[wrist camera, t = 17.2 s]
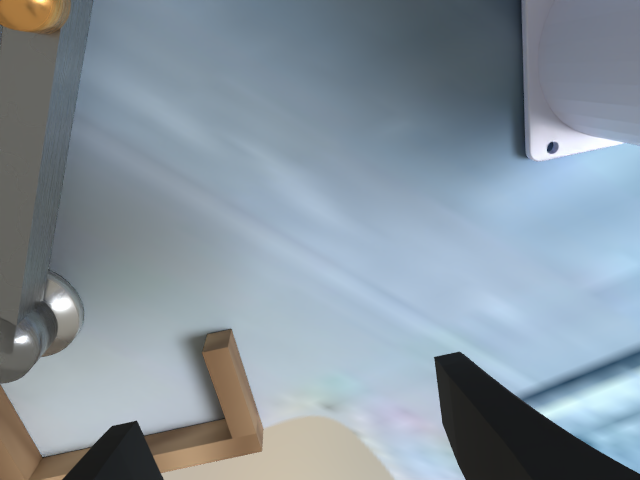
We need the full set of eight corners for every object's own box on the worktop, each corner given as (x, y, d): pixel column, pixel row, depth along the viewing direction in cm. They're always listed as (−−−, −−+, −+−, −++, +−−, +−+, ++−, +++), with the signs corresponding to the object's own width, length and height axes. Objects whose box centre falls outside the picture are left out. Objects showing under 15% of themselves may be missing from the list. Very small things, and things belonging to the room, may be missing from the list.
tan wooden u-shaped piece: (231, 329, 21) (227, 347, 20) (263, 428, 24) (262, 451, 22) (-27, 384, 21) (-49, 406, 20) (30, 479, 24) (14, 504, 22)
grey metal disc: (60, 255, 19) (48, 265, 18) (98, 338, 21) (88, 352, 20) (-37, 276, 19) (-55, 288, 18) (8, 358, 21) (-7, 372, 20)
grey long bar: (20, -45, 14) (-49, -76, 11) (120, -6, 15) (79, -26, 12) (-25, 343, 19) (-82, 393, 16) (52, 361, 20) (11, 412, 17)
